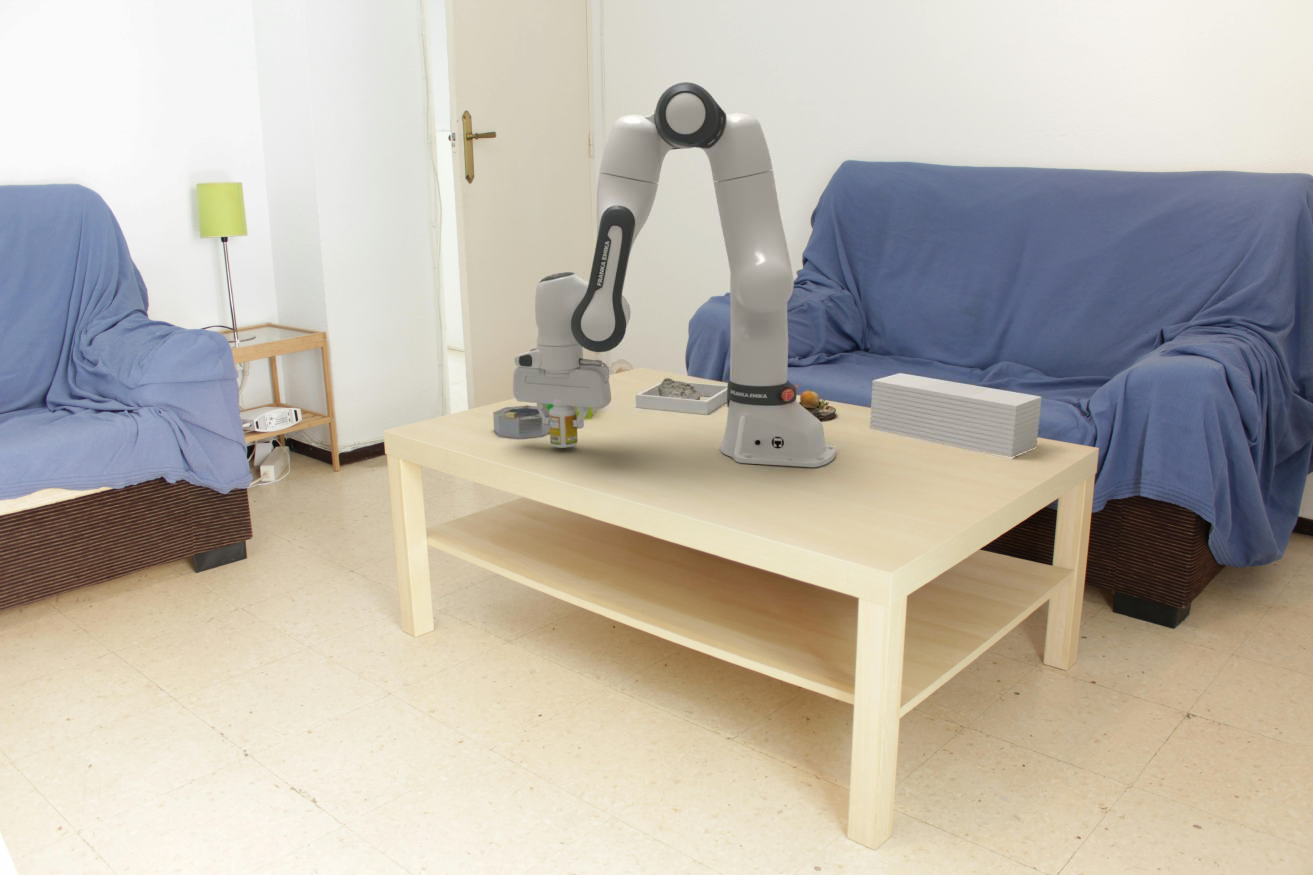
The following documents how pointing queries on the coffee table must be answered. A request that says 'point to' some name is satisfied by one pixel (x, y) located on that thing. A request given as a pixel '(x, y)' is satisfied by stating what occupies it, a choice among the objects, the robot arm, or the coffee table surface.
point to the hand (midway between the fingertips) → (563, 426)
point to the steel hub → (519, 422)
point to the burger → (817, 406)
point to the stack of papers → (956, 414)
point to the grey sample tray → (654, 401)
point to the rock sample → (677, 390)
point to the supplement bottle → (562, 425)
